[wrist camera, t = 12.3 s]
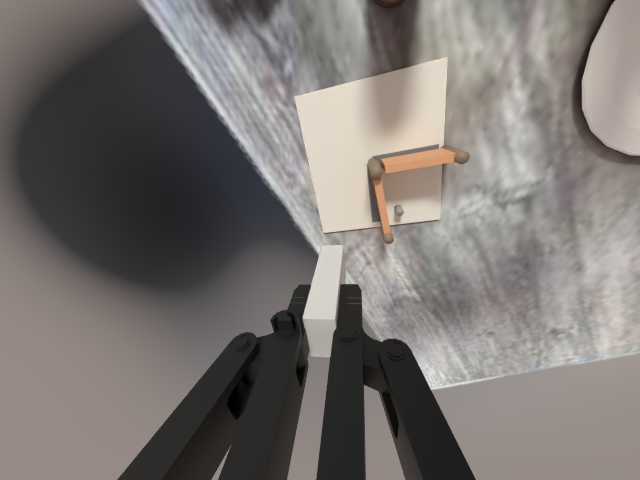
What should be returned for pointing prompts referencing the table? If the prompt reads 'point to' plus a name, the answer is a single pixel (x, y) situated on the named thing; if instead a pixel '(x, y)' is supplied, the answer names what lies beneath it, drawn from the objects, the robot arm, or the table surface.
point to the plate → (614, 79)
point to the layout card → (375, 145)
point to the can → (389, 2)
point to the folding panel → (383, 211)
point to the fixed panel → (417, 160)
